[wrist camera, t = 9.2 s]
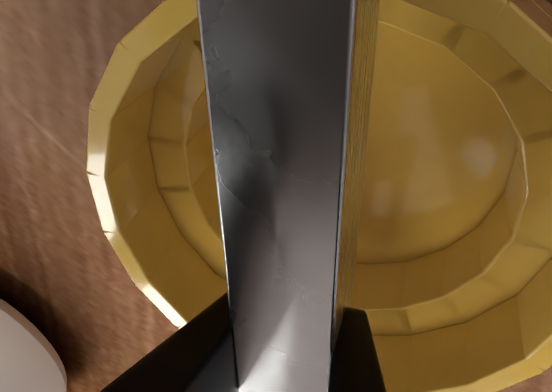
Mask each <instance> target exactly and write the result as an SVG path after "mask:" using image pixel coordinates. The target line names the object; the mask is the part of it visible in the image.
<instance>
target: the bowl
mask: <svg viewBox="0 0 552 392" xmlns="http://www.w3.org/2000/svg"><path fill="white" fill-rule="evenodd" d="M89 106H90V108H89V118H88V137H87V156H86V171H87V173H86V174H87V178H88V181H89V185H90V188H91V192H92V195H93V199H94V203H95V206H96V210H97V213H98V217H99V220H100V224H101V227H102V230H103V232H104V235H105V236H106V238H107V239H108V241H109V243H110V244H111V246H112V248H113V249H114V251H115V253H116V254H117V256H118V258H119V259H120V261H121V263H122V264H123V266H124V268H125V269H126V271H127V273H128V274H129V276H130V278H131V279H132V281H133V282H134V283H135V285H136V286H137V287H138V288H139V289H140V290H141V291H142V292H143V293H144V294H145V295H146V296H147V298H148V299H149V300H150V301H151V302H152V303H153V304H154V305H155V306H156V307H157V308H158V309H159V310H160V311H161V312H162V313H163V314H164V315H165V316H166V317H167V318H168V319H169V320H170V321H171V322H172V323H173V324H174V325H175V326H176V327H178V329H180V328H182V327H183V326H184V325H185V324H187V323H188V322H189V321H191V320H192V319H193V318H194V317H196V316H197V315H198V314H199V313H201V312H202V311H203V310H205V309H206V308H207V307H208V306H210V305H211V304H212V303H213V302H215V301H216V300H217V299H219V298H220V297H221V296H222V295H224V294H225V293H226V292H228V291H227V282H226V273H225V264H224V254H223V245H222V236H221V227H220V217H219V208H218V199H217V190H216V181H215V171H214V162H213V153H212V144H211V134H210V125H209V116H208V107H207V97H206V88H205V79H204V70H203V60H202V51H201V42H200V33H199V23H198V14H197V5H196V0H164V1H163V2H162V3H161V4H160V5H158V6H157V7H156V8H155V9H154V10H153V11H152V12H151V13H149V14H148V15H147V16H146V17H145V18H144V19H143V20H142V21H140V22H139V23H138V24H137V25H136V26H135V27H134V28H133V29H131V30H130V31H129V32H128V33H127V34H126V35H125V36H124V37H123V38H122V39H121V41H119V42H118V44H117V46H116V48H115V50H114V53H113V55H112V57H111V59H110V61H109V63H108V66H107V68H106V70H105V72H104V74H103V76H102V78H101V81H100V83H99V85H98V87H97V89H96V91H95V94H94V96H93V98H92V100H91V102H90V105H89ZM352 308H356V309H361V310H364V311H365V312H366V313H367V316H368V320H369V324H370V328H371V332H372V336H373V340H374V344H375V348H376V352H377V356H378V360H379V364H380V368H381V372H382V373H383V375H384V384H385V388H386V392H498V391H500V390H503V389H505V388H507V387H510V386H512V385H515V384H517V383H519V382H522V381H524V380H527V379H529V378H531V377H534V376H536V375H538V374H541V373H543V372H545V370H547V369H548V368H550V367H551V366H552V5H551V4H550V3H549V2H548V1H547V0H380V8H379V19H378V29H377V40H376V51H375V62H374V72H373V83H372V94H371V105H370V115H369V126H368V137H367V148H366V158H365V169H364V180H363V191H362V201H361V212H360V223H359V234H358V244H357V255H356V266H355V277H354V287H353V298H352Z"/></svg>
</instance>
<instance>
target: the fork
mask: <svg viewBox="0 0 552 392" xmlns="http://www.w3.org/2000/svg"><path fill="white" fill-rule="evenodd" d="M196 5H197V14H198V23H199V33H200V42H201V51H202V60H203V70H204V79H205V88H206V97H207V107H208V116H209V125H210V134H211V144H212V153H213V162H214V171H215V181H216V190H217V199H218V208H219V217H220V227H221V236H222V245H223V254H224V264H225V273H226V282H227V291H228V301H229V310H230V319H231V328H232V336H233V345H234V355H235V364H236V373H237V383H238V390H237V392H327V389H328V377H329V366H330V359H331V354H332V352H333V350H334V348H335V344H336V340H337V337H338V333H339V330H340V326H341V322H342V319H343V315H344V312H345V308H346V307H351V308H352V298H353V287H354V277H355V266H356V255H357V244H358V234H359V223H360V212H361V201H362V191H363V180H364V169H365V158H366V148H367V137H368V126H369V115H370V105H371V94H372V83H373V72H374V62H375V51H376V40H377V29H378V19H379V8H380V0H196ZM382 376H383V380H384V375H383V373H382Z"/></svg>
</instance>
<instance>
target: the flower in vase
mask: <svg viewBox="0 0 552 392" xmlns="http://www.w3.org/2000/svg"><path fill="white" fill-rule="evenodd" d="M66 390H67V376H66V371H65V368H64V366H63V363H62V361H61V359H60V358H59V356H58V354H57V352H56V351H55V349H54V348H53V346H52V345H51V344H50V343H49V341H48V340H47V339H46V338H45V336H44V335H43V334H42V333H41V332H40V331H39V330H38V329H37V328H36V327H35V326H34V325H33V324H32V323H31V322H30V321H29V320H28V319H27V318H25V317H24V316H23V315H22V314H21V313H20V312H18V311H17V310H16V309H15V308H13V307H12V306H11V305H9V304H8V303H7V302H5V301H4V300H2V299H0V392H66Z"/></svg>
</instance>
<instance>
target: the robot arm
mask: <svg viewBox="0 0 552 392" xmlns="http://www.w3.org/2000/svg"><path fill="white" fill-rule="evenodd" d="M237 390H238V383H237V373H236V364H235V355H234V345H233V336H232V328H231V319H230V310H229V301H228V292H226V293H225V294H224V295H222V296H221V297H220V298H219V299H217V300H216V301H215V302H213V303H212V304H211V305H210V306H208V307H207V308H206V309H205V310H203V311H202V312H201V313H199V314H198V315H197V316H196V317H194V318H193V319H192V320H191V321H189V322H188V323H187V324H185V325H184V326H183V327H182V328H180V329H179V330H178V331H176V332H175V333H174V334H173V335H171V336H170V337H169V338H168V339H166V340H165V341H164V342H162V343H161V344H160V345H159V346H157V347H156V348H155V349H154V350H152V351H151V352H150V353H148V354H147V355H146V356H145V357H143V358H142V359H141V360H139V361H138V362H137V363H136V364H134V365H133V366H132V367H131V368H129V369H128V370H127V371H125V372H124V373H123V374H122V375H120V376H119V377H118V378H117V379H115V380H114V381H113V382H111V383H110V384H109V385H108V386H106V387H105V388H104V389H102V390H101V391H100V392H237ZM327 392H386V388H385V384H384V380H383V376H382V372H381V368H380V364H379V360H378V356H377V352H376V348H375V344H374V340H373V336H372V332H371V328H370V324H369V320H368V316H367V313H366V312H365V311H364V310H361V309H356V308H351V307H346V308H345V312H344V315H343V319H342V322H341V326H340V330H339V333H338V337H337V340H336V344H335V348H334V350H333V352H332V354H331V359H330V366H329V377H328V389H327Z"/></svg>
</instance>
